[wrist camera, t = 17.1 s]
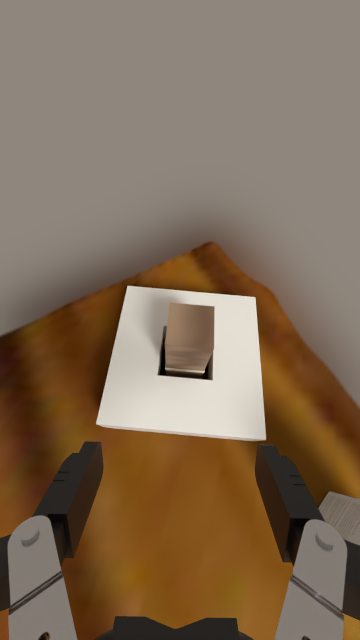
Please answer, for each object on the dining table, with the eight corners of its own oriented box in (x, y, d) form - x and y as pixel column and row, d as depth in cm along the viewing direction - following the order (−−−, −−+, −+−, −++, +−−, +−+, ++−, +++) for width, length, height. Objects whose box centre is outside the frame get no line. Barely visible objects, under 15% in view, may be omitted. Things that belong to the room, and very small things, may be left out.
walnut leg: (165, 378, 33) (163, 344, 22) (169, 346, 35) (169, 301, 24) (200, 381, 33) (214, 349, 22) (201, 349, 35) (215, 305, 24)
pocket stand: (105, 427, 30) (96, 424, 26) (131, 302, 38) (127, 285, 34) (253, 441, 29) (266, 440, 25) (246, 313, 38) (255, 297, 34)
